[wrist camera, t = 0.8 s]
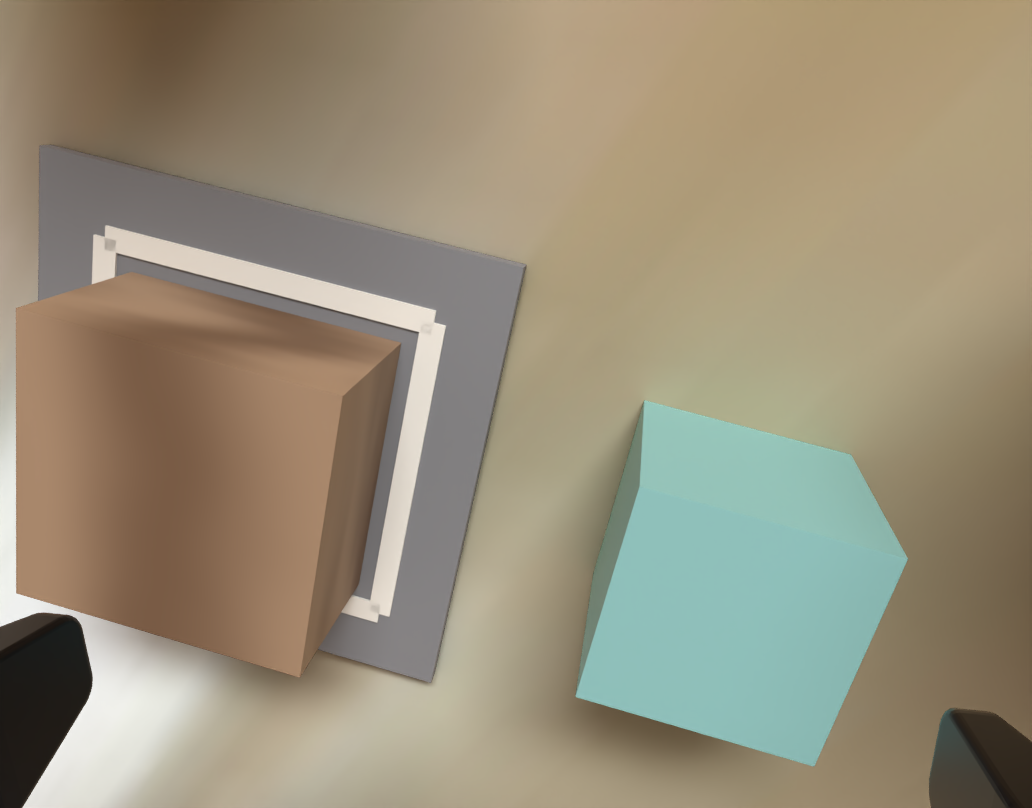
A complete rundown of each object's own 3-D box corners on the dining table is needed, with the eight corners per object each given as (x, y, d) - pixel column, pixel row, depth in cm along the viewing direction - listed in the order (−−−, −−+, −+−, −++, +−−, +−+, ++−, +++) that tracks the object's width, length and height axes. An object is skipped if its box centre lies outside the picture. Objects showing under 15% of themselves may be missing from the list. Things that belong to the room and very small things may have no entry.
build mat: (526, 265, 20) (523, 268, 19) (434, 674, 24) (430, 684, 23) (51, 144, 20) (37, 145, 20) (45, 559, 25) (33, 567, 24)
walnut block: (401, 342, 20) (342, 396, 17) (359, 583, 23) (299, 677, 19) (131, 271, 21) (15, 307, 17) (119, 515, 23) (16, 593, 20)
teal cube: (850, 453, 20) (907, 559, 15) (781, 624, 22) (814, 766, 17) (644, 399, 20) (639, 486, 16) (593, 572, 22) (575, 696, 17)
